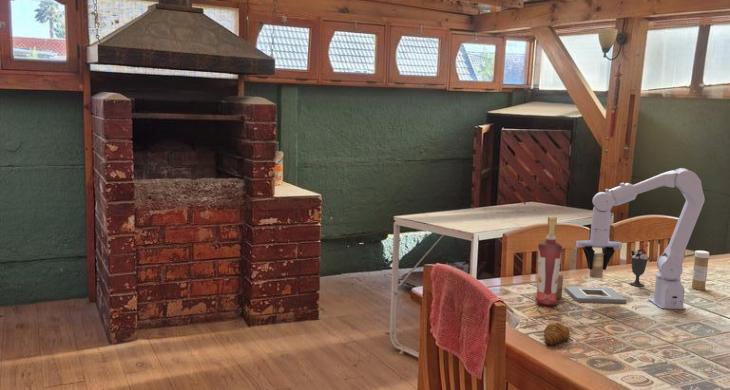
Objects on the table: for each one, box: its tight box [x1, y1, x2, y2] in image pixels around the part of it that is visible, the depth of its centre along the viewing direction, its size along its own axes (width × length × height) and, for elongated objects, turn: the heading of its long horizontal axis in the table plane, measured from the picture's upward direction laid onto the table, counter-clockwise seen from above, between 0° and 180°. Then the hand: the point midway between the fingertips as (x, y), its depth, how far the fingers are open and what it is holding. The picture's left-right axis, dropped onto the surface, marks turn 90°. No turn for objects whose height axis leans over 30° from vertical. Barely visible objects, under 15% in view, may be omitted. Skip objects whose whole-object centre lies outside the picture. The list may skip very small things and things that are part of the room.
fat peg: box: [556, 273, 564, 299], centre depth 213 cm, size 7×7×7 cm
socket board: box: [564, 286, 627, 304], centre depth 213 cm, size 13×16×1 cm
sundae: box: [629, 244, 651, 288], centre depth 228 cm, size 7×7×15 cm
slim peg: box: [589, 251, 604, 279], centre depth 212 cm, size 4×4×8 cm
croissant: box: [543, 322, 571, 347], centre depth 172 cm, size 14×7×5 cm, turn 146°
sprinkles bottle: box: [691, 249, 710, 291], centre depth 227 cm, size 5×5×13 cm
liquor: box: [534, 216, 563, 307], centre depth 202 cm, size 7×7×28 cm
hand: (596, 269), depth 212 cm, fingers closed on slim peg, 4 cm apart
